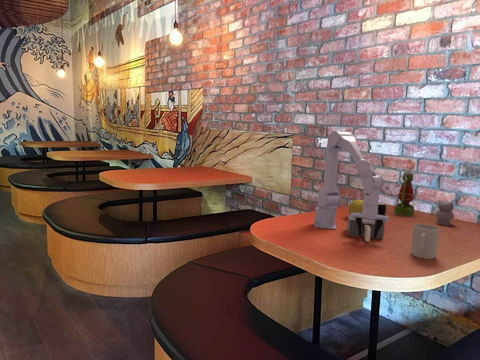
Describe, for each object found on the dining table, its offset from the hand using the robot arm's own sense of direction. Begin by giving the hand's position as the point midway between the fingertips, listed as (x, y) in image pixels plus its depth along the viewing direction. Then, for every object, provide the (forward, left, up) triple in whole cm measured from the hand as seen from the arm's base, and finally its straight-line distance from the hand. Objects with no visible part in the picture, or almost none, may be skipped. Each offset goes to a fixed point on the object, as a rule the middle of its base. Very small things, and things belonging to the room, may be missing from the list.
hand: (367, 236), depth 162 cm
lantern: (+27, +64, -2) cm, 69 cm away
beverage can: (+7, +24, -2) cm, 25 cm away
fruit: (0, +41, -2) cm, 41 cm away
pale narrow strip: (0, +4, -2) cm, 4 cm away
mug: (+18, -14, -2) cm, 23 cm away
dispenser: (0, +10, -2) cm, 10 cm away
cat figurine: (+43, +48, -2) cm, 64 cm away
